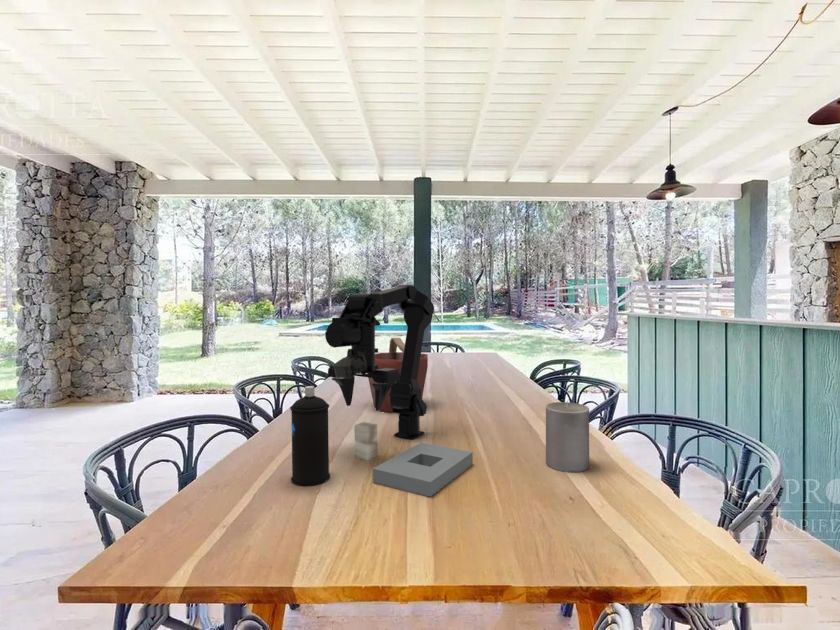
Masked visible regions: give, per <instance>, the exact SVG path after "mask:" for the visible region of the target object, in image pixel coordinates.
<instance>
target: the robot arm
mask: <svg viewBox="0 0 840 630" xmlns="http://www.w3.org/2000/svg"><path fill="white" fill-rule="evenodd" d="M395 304H398V306H399V309H401V311H402V312H403V320H404V322H405V324H406V328H407V329H406V336H405V340H404V341H405V342H404V344H405V347H404V353H403V360H402V366H401V373H400V372H399V371H398V369H392V368H383V369H378V365H375V354H378V353H379V348H376V327H378V326H379V327H380V326H381V322H380V321H379V320H378V319H377V318H376V316H378V315H380V314H381V313H383V310H384V309H385V308H386V307H389V306H392V305H395ZM434 312H435V305H434V303H433V302H432V301H431V299H430V298H429V297H428V296H427V295H426V294H424V293H423V292H421V291H419V290H418V289H417V288H416V286H414V285H413V284H398V285H397V286H395V287H392V288H387V289H385V290H381V291H378V292H374V293H352V294H351V295H349V296H348V300H347V302H346V304H345V305H344V308H343V310H342V312H341V314H340V315H339V317H332V318H331V323H330V324H329V325H327V327H326V331H325V333H324V335H325V336H324V337H325V341H326V343H327V344H328V345H329V346H330V347H332V348H336V349H337V348H343V347H351V348H348V349H347V353H346V356H344V357H343V358H341V359H339V360H338V361H336V362H335V363H333V364H332V365H331V364H330V366H329V367H328V369H327V377H329V378H331V380H332V381H334V382H335V383H336V384H338V387H339V388H340V390H341V392H342V395H343V398H344V401H345V404H346V406H347V407H349V406H350V407H351V406H352V401H353V395H354V387H355V381H356V380H355V379H356V377H362V378H368V377H369V378H373V380H374V381H375V382H376V383H372V385H373V387H374V388H375V408H376V409H375V408H374V409H375V411H377V412H379V411H378V410H380V408H381V406H382V404H383V401H384V399H385V397H386V395H387V393H388V391H389V389H390V388H391V391H390V394H389V396H390V404H391V408H392V412H393V413H392V414H396V415H397V414H398V422H397V423H398V424H397V425H398V427H397V428H398V430H397V431H398V432H395V433H394V435H393V436H395V437H398V438H399V437H400V438H403V439H404V438H405V439H410V440H415V439H417V438H418V437H421V436H422V435H424V434H425V431H422V430H421V428H420V427H421V425H420V424H421V422H420V420H421V419H420V417H424V416H425V415H426V414H427V409H428V405H427V404H426V403H425V402H424V400H423V397H422V398H421V388H420V386H419V383H418V381H417V377H418V370H419V363H420V356H421V354H422V349H423V348H422V347H423V342H424V341H423V340H424V334H425V331H426V329H427V328H428V327H429V325H430V324H431V322H432V320H433V316H434ZM375 369H378V370H375ZM367 373H368V374H367Z"/></svg>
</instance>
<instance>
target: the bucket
mask: <svg viewBox="0 0 840 630" xmlns="http://www.w3.org/2000/svg"><path fill="white" fill-rule="evenodd" d="M404 347H405V342H403V340H402V338H401V337H391V338H390V339H389V348H388V352H378V353H375V365H378V369H383V368H392V369H398V371H399V372H400V373H401V366H402V360H403V353H404ZM397 349H399V350H400V351H401V352H399V351H398V352H397ZM428 362H429V361H428V353H421V356H420V363H419V370H418V377H417V381H418V383H419V386H420V388H421V398H422V399H423V395H424V389H425V383H426V377H427V373H428V372H427V371H428V367H429V365H428V364H429V363H428ZM378 369H375V370H378ZM366 374H368V373H366ZM367 379H368V383H369V388H370V393H371V397H372V398H371V399H372V403H373V407H375V388H374V387H373V385H372V383H376V382H375V381H374V380H373V378H369V377H367ZM390 391H391V388H390V389H389V391H388V393H387V395H386V397H385V399H384V401H383V404H382V406H381V408H380V410H379V411H378V412H380V413H381V412H384V413H385V414H394V413H393V412H392V408H391V404H390V396H389V394H390Z"/></svg>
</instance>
